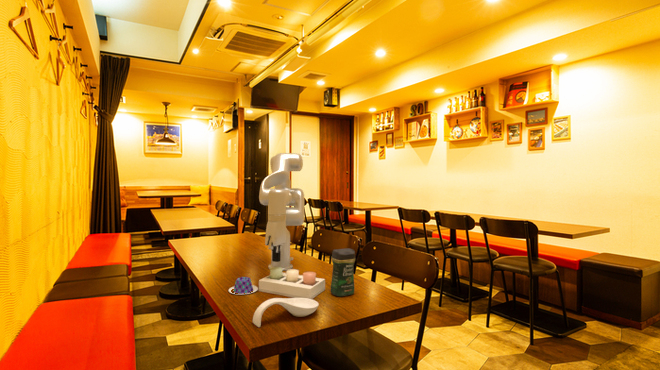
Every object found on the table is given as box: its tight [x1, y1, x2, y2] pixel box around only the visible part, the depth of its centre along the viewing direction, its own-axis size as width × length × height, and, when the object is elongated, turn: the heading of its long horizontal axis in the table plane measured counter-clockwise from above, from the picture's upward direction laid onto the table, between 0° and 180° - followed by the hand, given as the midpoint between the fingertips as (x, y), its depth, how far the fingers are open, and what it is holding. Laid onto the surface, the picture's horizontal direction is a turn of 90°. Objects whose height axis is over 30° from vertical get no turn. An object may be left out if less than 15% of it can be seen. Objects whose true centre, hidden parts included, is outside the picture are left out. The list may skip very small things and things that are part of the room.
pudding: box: [228, 276, 259, 295], centre depth 141 cm, size 12×12×5 cm
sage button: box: [269, 267, 283, 280], centre depth 145 cm, size 5×5×5 cm
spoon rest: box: [252, 297, 320, 328], centre depth 116 cm, size 24×12×7 cm, turn 128°
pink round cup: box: [302, 271, 317, 286], centre depth 139 cm, size 5×5×5 cm
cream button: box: [285, 268, 300, 283], centre depth 142 cm, size 5×5×5 cm
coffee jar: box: [330, 247, 356, 297], centre depth 139 cm, size 10×8×19 cm
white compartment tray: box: [258, 272, 326, 300], centre depth 142 cm, size 14×24×4 cm, turn 67°
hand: (276, 261), depth 144 cm, fingers closed
